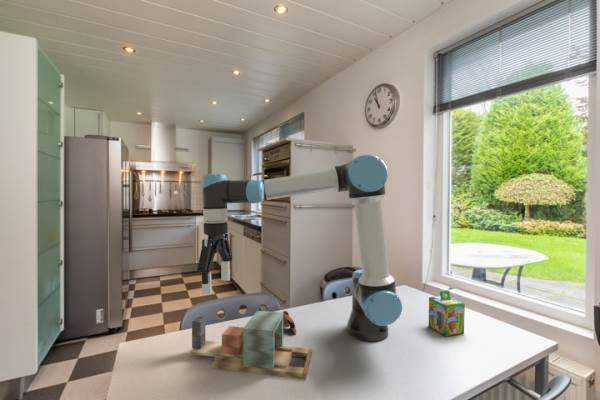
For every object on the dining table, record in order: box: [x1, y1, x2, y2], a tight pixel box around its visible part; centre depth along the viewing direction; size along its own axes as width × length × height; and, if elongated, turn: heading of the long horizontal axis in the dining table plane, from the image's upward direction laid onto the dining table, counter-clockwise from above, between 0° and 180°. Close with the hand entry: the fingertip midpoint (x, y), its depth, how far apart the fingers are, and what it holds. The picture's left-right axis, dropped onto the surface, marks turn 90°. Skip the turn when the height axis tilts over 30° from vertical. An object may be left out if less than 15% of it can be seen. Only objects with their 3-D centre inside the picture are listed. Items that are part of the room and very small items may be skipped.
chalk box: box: [427, 290, 466, 337], centre depth 108 cm, size 9×9×15 cm
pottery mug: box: [280, 310, 297, 336], centre depth 106 cm, size 12×10×8 cm
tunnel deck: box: [212, 310, 313, 380], centre depth 87 cm, size 28×13×13 cm, turn 81°
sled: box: [189, 316, 245, 358], centre depth 89 cm, size 20×7×9 cm, turn 81°
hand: (216, 286), depth 92 cm, fingers open, 13 cm apart
